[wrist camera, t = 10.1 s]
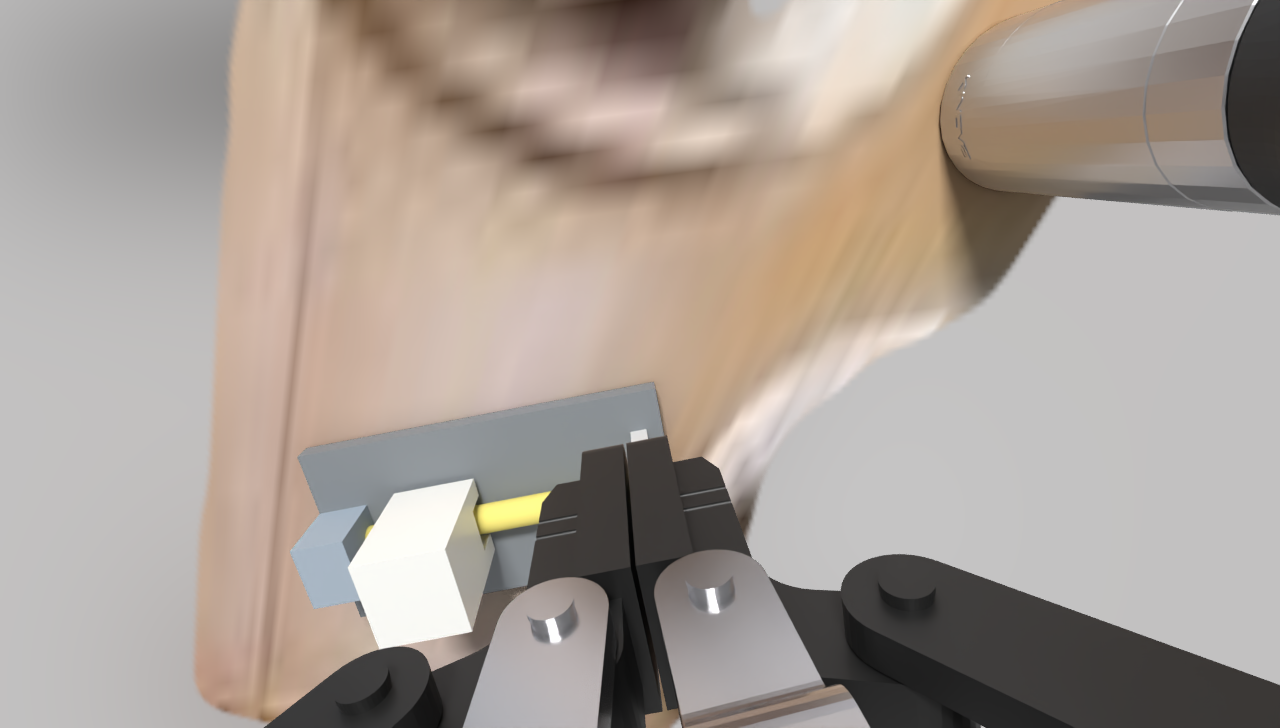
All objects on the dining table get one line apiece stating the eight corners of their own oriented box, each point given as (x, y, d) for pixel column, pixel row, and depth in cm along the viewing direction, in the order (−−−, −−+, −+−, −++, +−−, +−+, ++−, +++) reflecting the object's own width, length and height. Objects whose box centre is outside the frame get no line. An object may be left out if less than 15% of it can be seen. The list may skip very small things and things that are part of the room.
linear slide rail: (653, 381, 39) (661, 414, 34) (684, 544, 43) (694, 595, 38) (306, 448, 39) (263, 490, 34) (367, 605, 43) (336, 662, 38)
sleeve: (473, 478, 39) (444, 549, 32) (495, 549, 41) (472, 631, 34) (393, 493, 39) (347, 567, 32) (418, 564, 41) (379, 649, 34)
